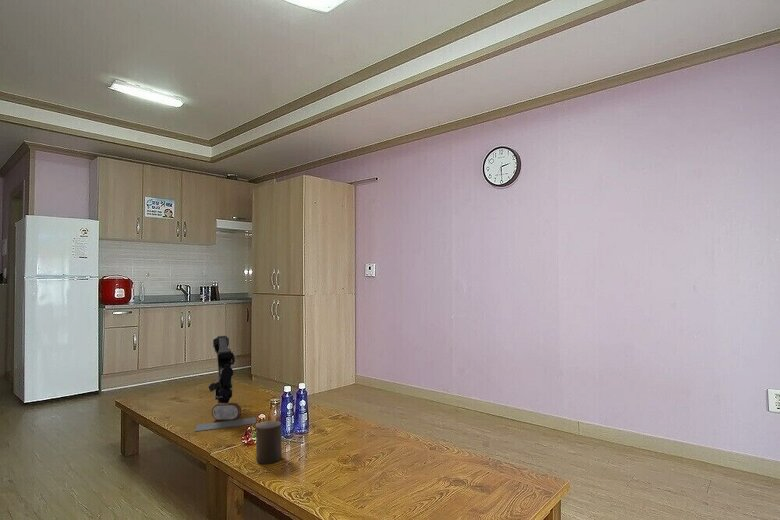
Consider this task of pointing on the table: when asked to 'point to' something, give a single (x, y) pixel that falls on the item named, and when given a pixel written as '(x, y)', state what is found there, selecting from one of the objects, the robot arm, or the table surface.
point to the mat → (225, 424)
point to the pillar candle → (268, 442)
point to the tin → (226, 411)
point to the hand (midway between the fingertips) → (226, 405)
